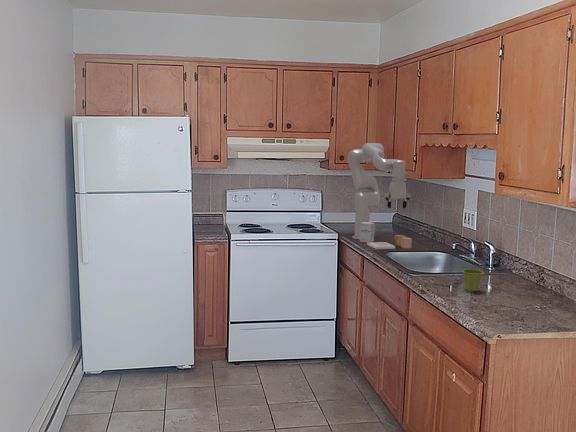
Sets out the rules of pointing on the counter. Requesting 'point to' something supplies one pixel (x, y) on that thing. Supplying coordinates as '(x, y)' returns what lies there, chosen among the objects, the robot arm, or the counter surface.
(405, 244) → the terracotta block
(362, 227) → the supplement box
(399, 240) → the oak block
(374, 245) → the baseplate
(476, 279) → the plant pot
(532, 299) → the counter surface
